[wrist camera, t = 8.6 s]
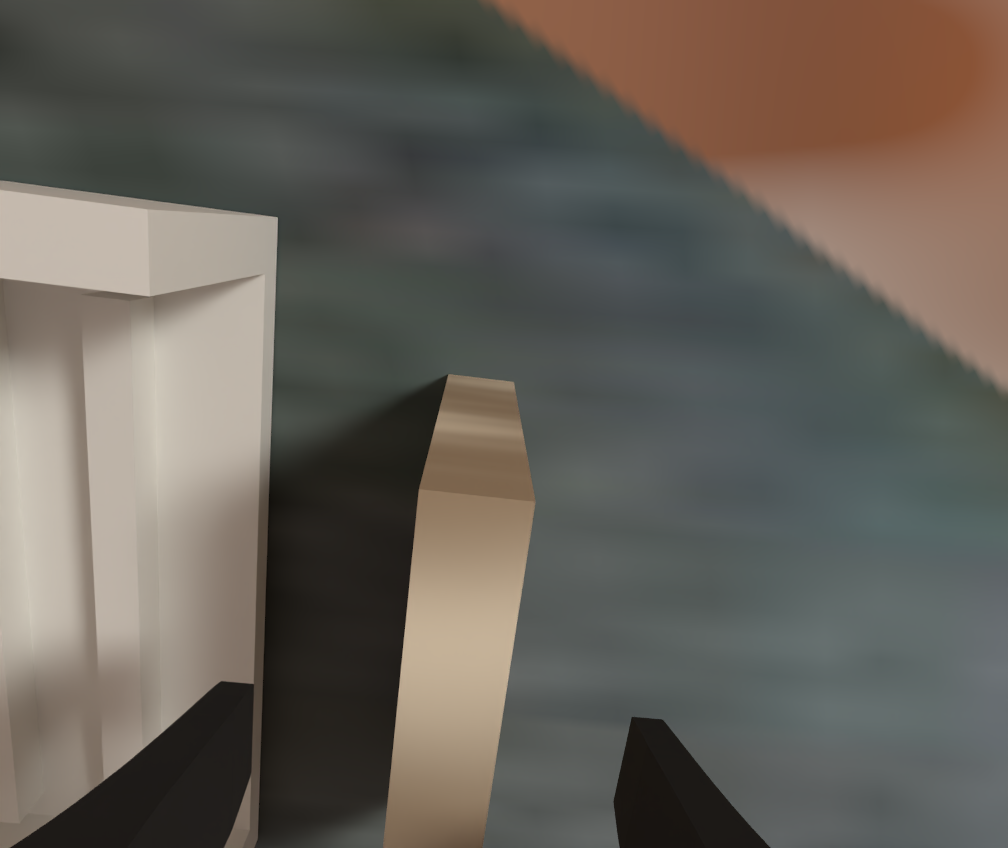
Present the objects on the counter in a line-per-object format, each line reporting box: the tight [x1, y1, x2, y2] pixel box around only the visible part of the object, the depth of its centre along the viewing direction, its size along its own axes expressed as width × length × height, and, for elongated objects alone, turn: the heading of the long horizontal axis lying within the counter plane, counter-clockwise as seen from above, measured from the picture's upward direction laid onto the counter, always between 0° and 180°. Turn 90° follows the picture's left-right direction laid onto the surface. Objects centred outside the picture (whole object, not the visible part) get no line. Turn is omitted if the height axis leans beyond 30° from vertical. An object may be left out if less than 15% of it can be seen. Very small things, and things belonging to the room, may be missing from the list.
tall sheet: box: [383, 374, 535, 848], centre depth 14 cm, size 12×2×8 cm, turn 173°
